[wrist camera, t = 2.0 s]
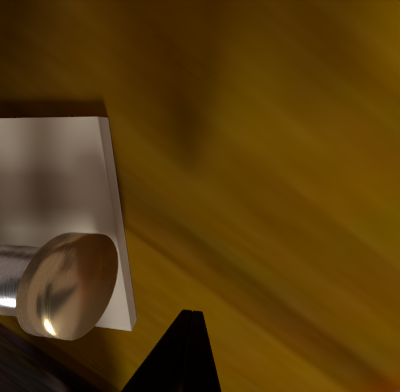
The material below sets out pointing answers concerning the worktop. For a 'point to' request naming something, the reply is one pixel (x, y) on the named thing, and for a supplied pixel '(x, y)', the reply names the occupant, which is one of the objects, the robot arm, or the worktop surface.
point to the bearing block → (64, 193)
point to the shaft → (59, 283)
